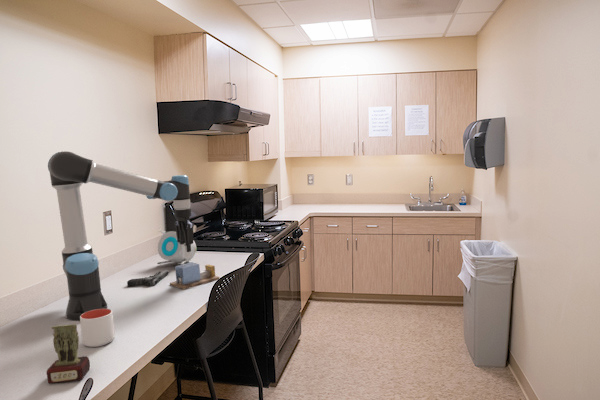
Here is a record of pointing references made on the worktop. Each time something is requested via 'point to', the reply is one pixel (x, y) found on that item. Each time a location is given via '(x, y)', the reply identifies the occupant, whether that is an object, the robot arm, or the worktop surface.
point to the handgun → (148, 279)
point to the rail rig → (205, 277)
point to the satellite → (173, 248)
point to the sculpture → (67, 356)
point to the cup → (97, 327)
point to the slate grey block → (188, 273)
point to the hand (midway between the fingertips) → (186, 257)
